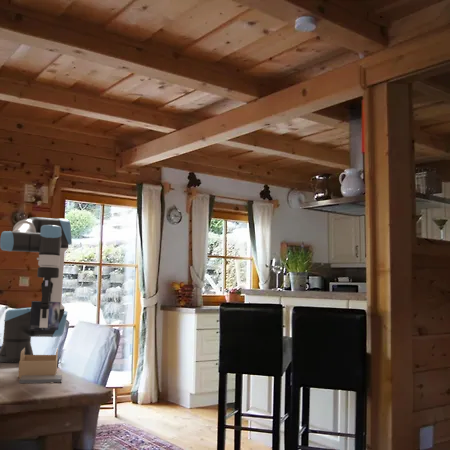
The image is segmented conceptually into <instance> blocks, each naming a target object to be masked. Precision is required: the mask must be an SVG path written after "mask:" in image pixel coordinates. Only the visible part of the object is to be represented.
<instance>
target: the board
mask: <svg viewBox="0 0 450 450" xmlns="http://www.w3.org/2000/svg"><path fill="white" fill-rule="evenodd" d="M62 379H63V374H56V375H22V376H21V378H19V384H47V383H46V382H61V383H62V382H63V380H62Z"/></svg>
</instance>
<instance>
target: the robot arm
mask: <svg viewBox="0 0 450 450" xmlns="http://www.w3.org/2000/svg"><path fill="white" fill-rule="evenodd" d="M72 244H73V241H72V227H71V221H70V220H69V219H67V218H57V217H56V218H55V217H54V218H53V217H52V218H51V217H38V216H36V217H29V218H28V217H27V218H24V219H21V220H19V221H17V222H16V223H15V224H14V226H13V228H12V231H11V230H9V231H8V230H7V231H6V230H4V231H2V232H1V235H0V249H1V251H4V252H5V251H7V252H26V253H27V252H29V253H38V257H36V260H37V262H38V263H37V265H38V267H37V278H40V279H41V278H43V279H42V282H41V286H40V287H41V300H40V301H41V306H39V309H41V313H40V327H39V328H48V314H49V309H48V308H49V301H52V302H60V314H59V327H58V330H51V331H32V330H29V325H30V314H31V307H21V308H13V309H9V310H7V311H6V312H5V314H4V319H3V321H4V323H3V325H4V326H3V328H4V329H3V338H2V344H1V347H0V363H19V361H20V357H21V351H22V350H23V349H24V348H25V354H24V355H34V352H33V347H32V344H31V341H32V340H31V339H32V338H33V337H34V338H38V337H39V338H41V337H42V338H47V337H48V338H59V337H61V336H63V335H64V331H65V328H66V327H65V326H66V321H67V317H68V311H66V310H65V306H64V305H63V303H62V302H63V301H62V300H63V299H62V298H63V283H64V266H65V252H66V251H68V249H69V246H71V245H72Z"/></svg>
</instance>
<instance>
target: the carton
mask: <svg viewBox="0 0 450 450" xmlns="http://www.w3.org/2000/svg"><path fill="white" fill-rule="evenodd" d="M58 352H59V348H58V347H57V348H56V353H55V354H33V355H24V354H25V348H24V349H23V350H22V351H21V357H20V361H19V362H18V375H17V378H18V379H20V378H21V376H22V375H57V372H56V371H58V357H59V356H58Z"/></svg>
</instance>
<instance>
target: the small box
mask: <svg viewBox="0 0 450 450" xmlns="http://www.w3.org/2000/svg"><path fill="white" fill-rule="evenodd" d="M30 306H31V307H30V308H31V314H30V325H29V330H32V331H51V330H58V327H59V314H60V302H52V301H49V308H48V309H49V314H48V328H39V327H40V313H41V309H39V306H41V300H39V301H38V300H32V301H31V305H30Z"/></svg>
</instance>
